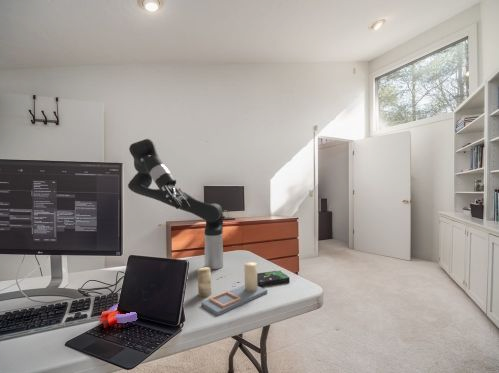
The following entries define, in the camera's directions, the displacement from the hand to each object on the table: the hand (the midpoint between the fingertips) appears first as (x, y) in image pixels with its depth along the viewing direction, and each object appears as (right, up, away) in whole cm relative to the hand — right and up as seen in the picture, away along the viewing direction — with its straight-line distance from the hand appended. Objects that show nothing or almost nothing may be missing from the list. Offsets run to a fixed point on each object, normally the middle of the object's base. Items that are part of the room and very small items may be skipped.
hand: (184, 207), depth 105 cm
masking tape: (-13, -35, -20) cm, 43 cm away
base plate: (+22, -34, -8) cm, 41 cm away
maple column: (+9, -34, -4) cm, 35 cm away
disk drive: (+36, -34, +9) cm, 50 cm away
